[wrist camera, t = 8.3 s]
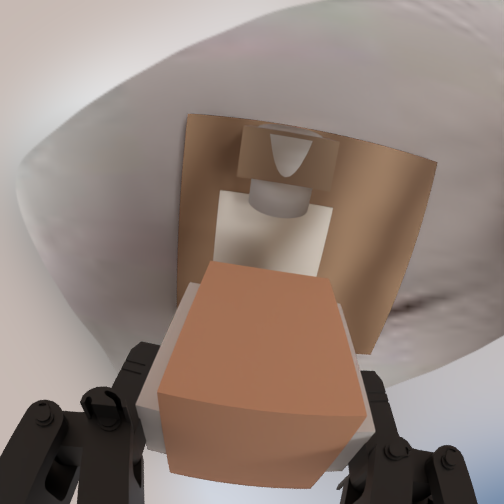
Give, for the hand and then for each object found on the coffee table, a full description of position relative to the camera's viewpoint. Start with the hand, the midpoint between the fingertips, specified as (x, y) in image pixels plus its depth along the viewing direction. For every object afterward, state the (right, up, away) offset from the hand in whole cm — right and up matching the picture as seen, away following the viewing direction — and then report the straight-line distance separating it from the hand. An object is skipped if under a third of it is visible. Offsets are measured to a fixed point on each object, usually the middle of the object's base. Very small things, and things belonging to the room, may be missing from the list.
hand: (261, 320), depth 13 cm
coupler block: (0, 0, 0) cm, 0 cm away
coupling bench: (+3, +3, +8) cm, 9 cm away
